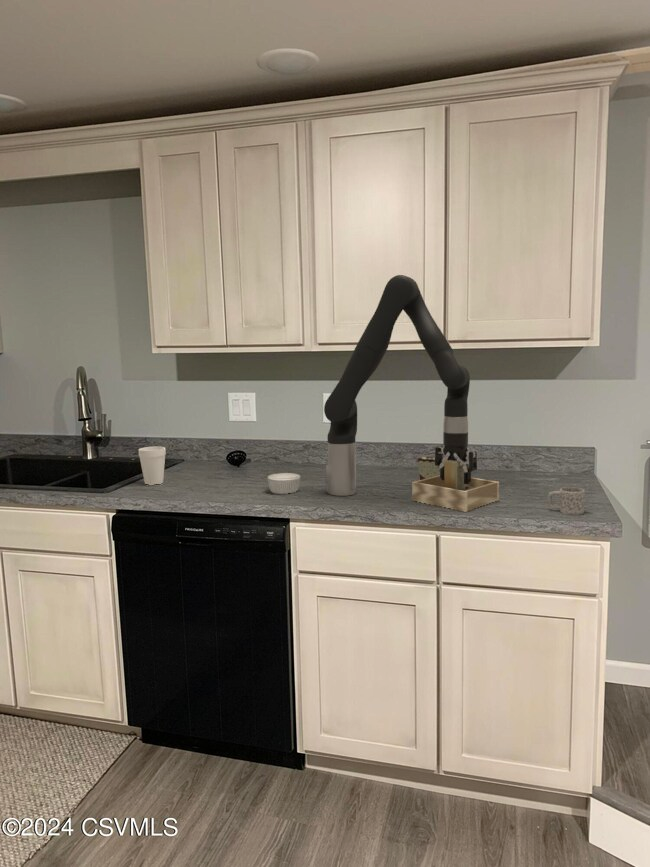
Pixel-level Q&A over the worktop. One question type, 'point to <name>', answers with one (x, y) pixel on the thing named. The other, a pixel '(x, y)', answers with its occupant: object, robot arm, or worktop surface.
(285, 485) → the ramekin
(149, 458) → the foam cup
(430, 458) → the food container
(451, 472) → the skincare box
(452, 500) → the walled box
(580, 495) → the mug
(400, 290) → the robot arm
